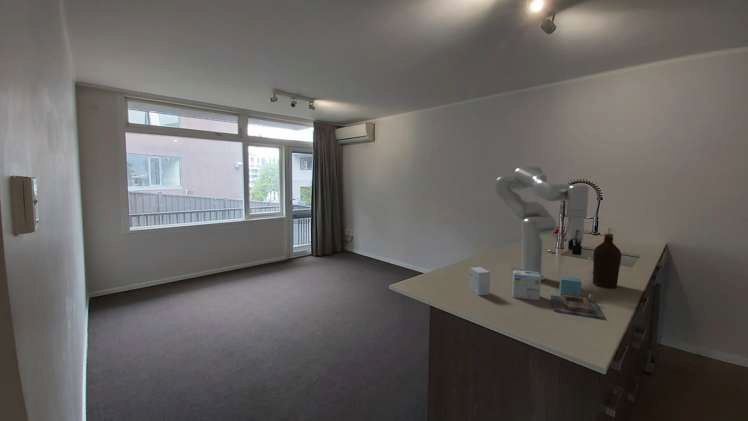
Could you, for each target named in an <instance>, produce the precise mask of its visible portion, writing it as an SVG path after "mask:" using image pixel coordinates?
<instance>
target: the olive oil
mask: <svg viewBox="0 0 748 421" xmlns="http://www.w3.org/2000/svg"><path fill="white" fill-rule="evenodd" d="M592 257H593V262H592V263H593V267H592V284H593V285H594V286H595V287H599V288H603V289H609V290H610V289H612V290H613V289H616V288H617V287H618V280H619V274H620V269H621V268H620V267H621V261H622V252H621V250H620V249H619V248H618V246H617V245H616V244H615V243H614V234H612V233H604V238H603V241H602V242H601V243H600V244H599V245H597V246H596V247H595V248H594V250H593V256H592Z"/></svg>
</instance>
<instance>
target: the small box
mask: <svg viewBox="0 0 748 421" xmlns="http://www.w3.org/2000/svg"><path fill="white" fill-rule="evenodd" d="M490 282H491V272H490V271H489V270H487V269H485V268H484V267H481V266H477V267H470V268H469V288H468V289H469V290H470V291H471V292H472V293H474V294H475V295H477V297H478V296H487V295H489V296H490V288H491V283H490Z"/></svg>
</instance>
